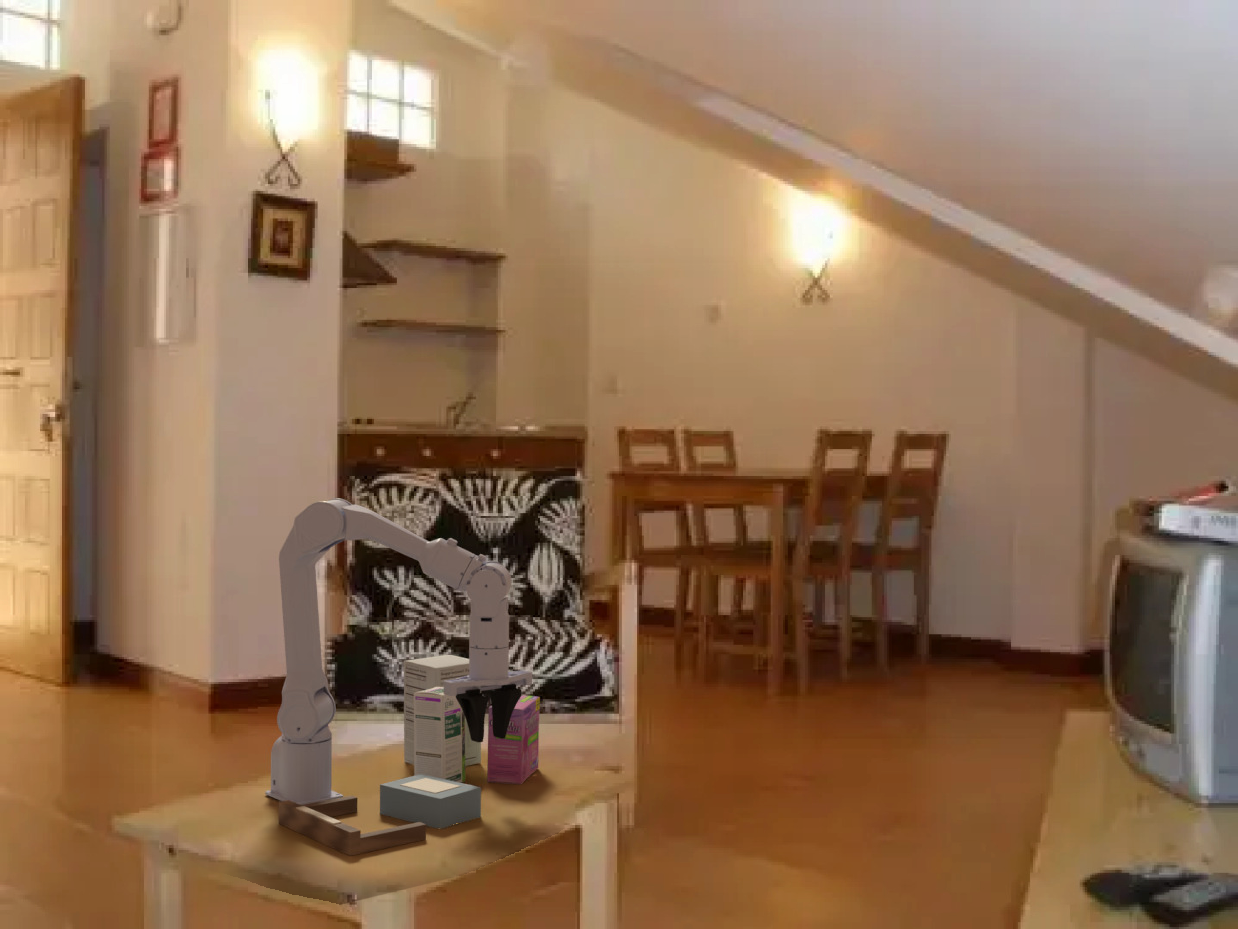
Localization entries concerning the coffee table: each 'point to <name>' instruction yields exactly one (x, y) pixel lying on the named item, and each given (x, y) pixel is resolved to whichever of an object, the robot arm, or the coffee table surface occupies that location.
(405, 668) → the supplement box
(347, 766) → the coffee table surface
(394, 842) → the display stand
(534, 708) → the box
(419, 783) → the carton
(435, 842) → the coffee table surface
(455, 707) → the syrup box
